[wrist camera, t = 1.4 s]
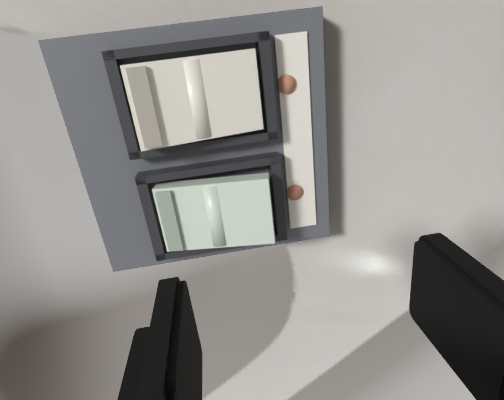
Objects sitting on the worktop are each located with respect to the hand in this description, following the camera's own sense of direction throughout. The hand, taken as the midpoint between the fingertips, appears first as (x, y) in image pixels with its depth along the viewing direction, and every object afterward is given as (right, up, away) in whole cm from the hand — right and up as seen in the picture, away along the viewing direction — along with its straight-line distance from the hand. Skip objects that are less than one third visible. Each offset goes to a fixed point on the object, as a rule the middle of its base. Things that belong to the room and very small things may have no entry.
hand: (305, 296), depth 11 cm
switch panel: (-6, +8, +20) cm, 22 cm away
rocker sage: (-5, +2, +17) cm, 18 cm away
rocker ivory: (-6, +10, +14) cm, 18 cm away
